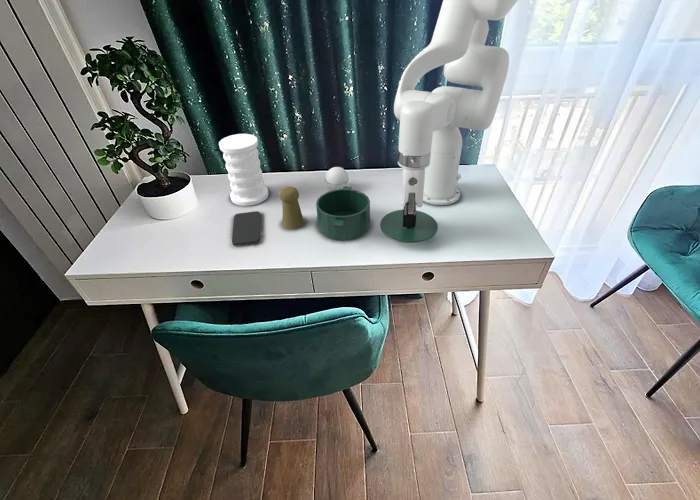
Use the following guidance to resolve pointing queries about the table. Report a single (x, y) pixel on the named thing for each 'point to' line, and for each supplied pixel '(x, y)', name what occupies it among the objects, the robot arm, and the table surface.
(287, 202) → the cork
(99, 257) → the table surface
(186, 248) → the table surface
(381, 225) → the lid
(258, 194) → the decorative container
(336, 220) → the pot
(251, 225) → the phone
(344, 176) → the white rounded upright piece
